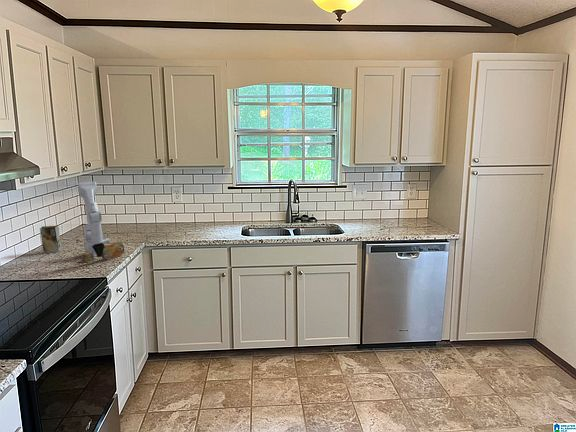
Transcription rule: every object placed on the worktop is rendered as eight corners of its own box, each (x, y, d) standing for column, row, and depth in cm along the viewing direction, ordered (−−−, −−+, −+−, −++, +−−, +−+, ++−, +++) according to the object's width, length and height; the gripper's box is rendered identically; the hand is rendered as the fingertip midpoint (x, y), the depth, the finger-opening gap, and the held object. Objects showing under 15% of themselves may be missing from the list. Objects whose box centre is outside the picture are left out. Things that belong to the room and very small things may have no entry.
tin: (104, 261, 241) (102, 247, 239) (100, 260, 242) (98, 246, 241) (125, 254, 254) (123, 241, 252) (121, 254, 255) (120, 240, 254)
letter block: (82, 261, 243) (81, 253, 242) (89, 259, 246) (88, 251, 245) (86, 262, 240) (85, 254, 239) (94, 260, 244) (93, 252, 243)
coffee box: (62, 249, 271) (58, 225, 268) (58, 252, 264) (55, 227, 262) (46, 250, 269) (43, 226, 266) (42, 253, 263) (39, 228, 260)
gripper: (88, 236, 230) (91, 260, 232) (112, 231, 242) (114, 254, 244) (81, 235, 233) (84, 259, 236) (104, 230, 245) (107, 252, 248)
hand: (99, 256), depth 240 cm, fingers closed
